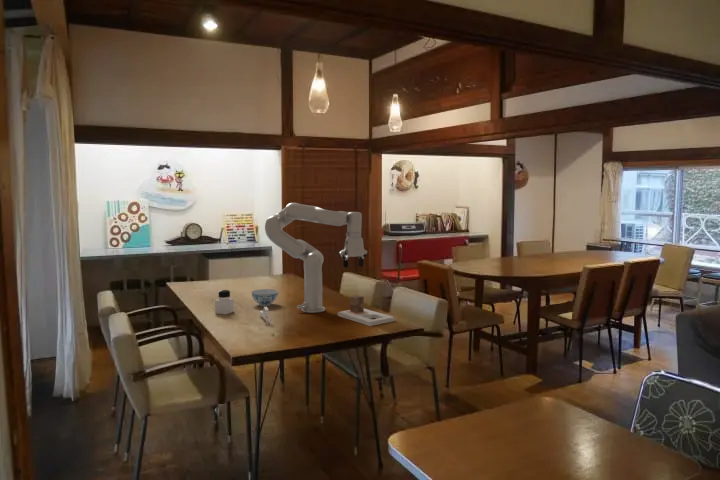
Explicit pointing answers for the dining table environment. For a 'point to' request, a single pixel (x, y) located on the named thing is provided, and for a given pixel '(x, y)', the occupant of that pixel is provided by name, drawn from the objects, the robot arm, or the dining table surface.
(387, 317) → the pocket board
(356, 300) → the walnut block
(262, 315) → the llama figurine
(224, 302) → the medicine bottle
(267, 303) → the chinaware
